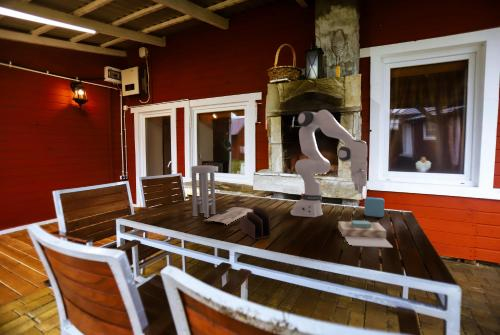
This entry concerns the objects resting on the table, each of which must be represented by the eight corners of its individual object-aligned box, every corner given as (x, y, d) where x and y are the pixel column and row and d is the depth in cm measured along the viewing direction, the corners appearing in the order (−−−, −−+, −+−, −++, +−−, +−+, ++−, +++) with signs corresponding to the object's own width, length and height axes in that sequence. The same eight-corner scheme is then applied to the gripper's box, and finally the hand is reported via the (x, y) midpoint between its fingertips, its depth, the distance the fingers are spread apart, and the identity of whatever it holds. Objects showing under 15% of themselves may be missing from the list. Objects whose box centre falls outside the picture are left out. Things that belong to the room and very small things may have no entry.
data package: (383, 215, 182) (384, 198, 181) (383, 217, 178) (384, 199, 177) (364, 213, 187) (365, 196, 186) (364, 215, 183) (364, 198, 182)
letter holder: (254, 227, 162) (254, 204, 161) (270, 237, 144) (270, 212, 143) (239, 229, 158) (239, 206, 157) (254, 240, 140) (253, 214, 139)
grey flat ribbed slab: (232, 210, 205) (232, 206, 205) (254, 212, 196) (254, 209, 196) (203, 223, 172) (203, 219, 172) (229, 227, 164) (228, 222, 163)
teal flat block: (353, 227, 147) (353, 223, 146) (351, 223, 152) (351, 220, 152) (371, 227, 145) (371, 224, 145) (368, 224, 151) (368, 220, 151)
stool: (188, 217, 184) (186, 167, 180) (200, 212, 198) (199, 165, 195) (208, 219, 178) (207, 167, 175) (219, 213, 193) (218, 165, 189)
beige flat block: (342, 236, 144) (342, 229, 144) (338, 227, 158) (338, 221, 158) (386, 238, 140) (386, 230, 140) (378, 229, 154) (378, 222, 154)
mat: (349, 245, 131) (349, 244, 131) (344, 237, 143) (344, 236, 143) (392, 247, 128) (392, 246, 128) (384, 238, 140) (384, 238, 140)
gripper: (369, 169, 144) (368, 195, 145) (360, 166, 164) (359, 188, 165) (357, 169, 145) (356, 195, 146) (349, 166, 165) (349, 188, 166)
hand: (358, 191), depth 156 cm, fingers open, 8 cm apart
